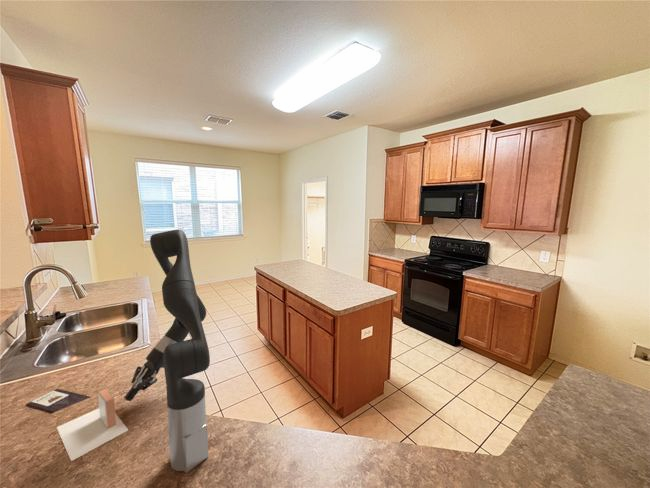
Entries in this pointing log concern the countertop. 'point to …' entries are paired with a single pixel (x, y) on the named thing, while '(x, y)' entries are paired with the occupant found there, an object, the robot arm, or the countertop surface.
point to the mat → (88, 433)
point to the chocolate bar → (56, 400)
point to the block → (107, 408)
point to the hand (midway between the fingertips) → (127, 399)
